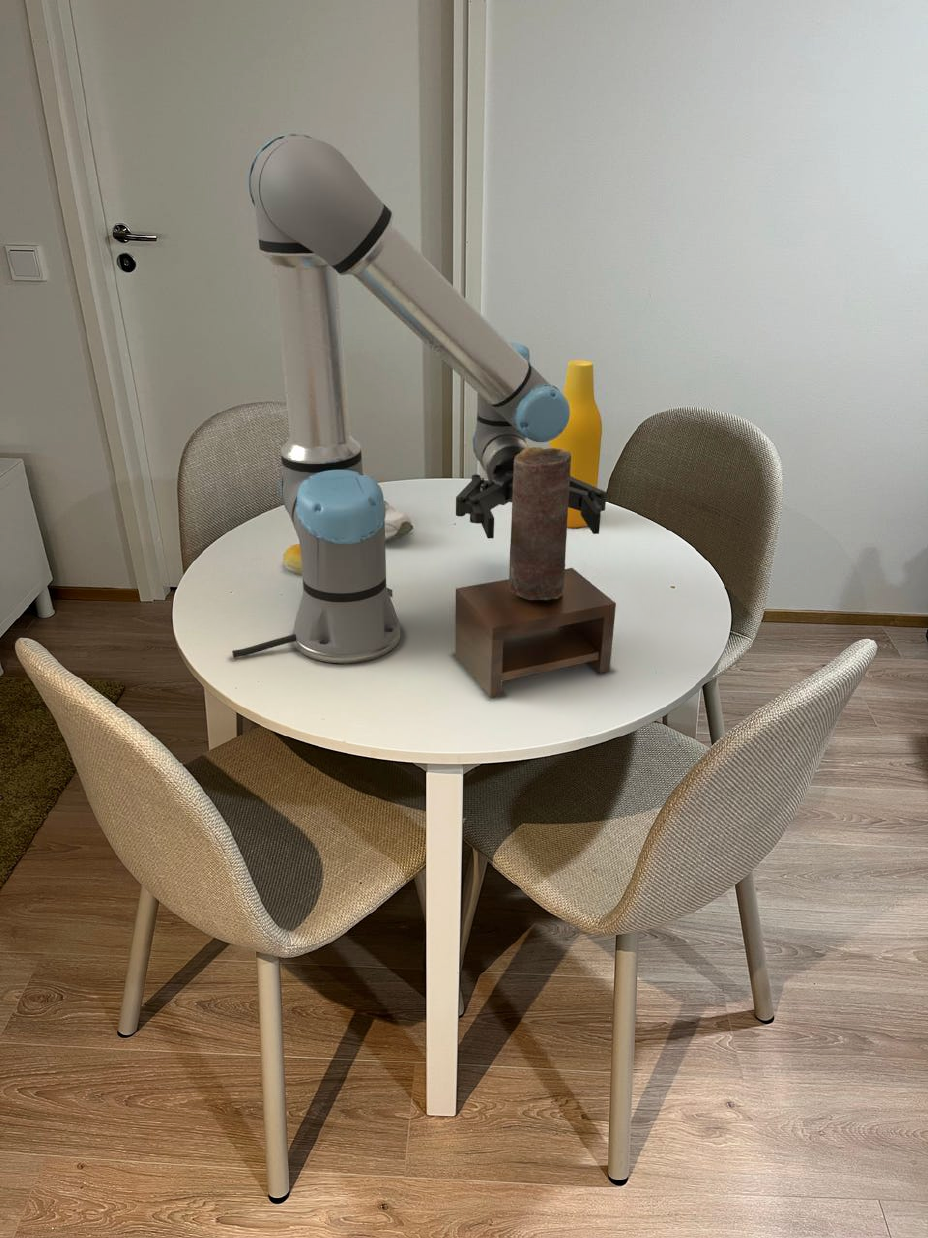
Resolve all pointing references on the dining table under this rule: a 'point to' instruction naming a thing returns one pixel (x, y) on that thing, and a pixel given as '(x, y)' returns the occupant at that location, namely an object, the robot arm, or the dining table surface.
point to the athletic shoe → (395, 523)
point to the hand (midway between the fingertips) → (544, 526)
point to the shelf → (531, 630)
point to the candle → (539, 523)
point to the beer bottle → (581, 430)
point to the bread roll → (293, 559)
